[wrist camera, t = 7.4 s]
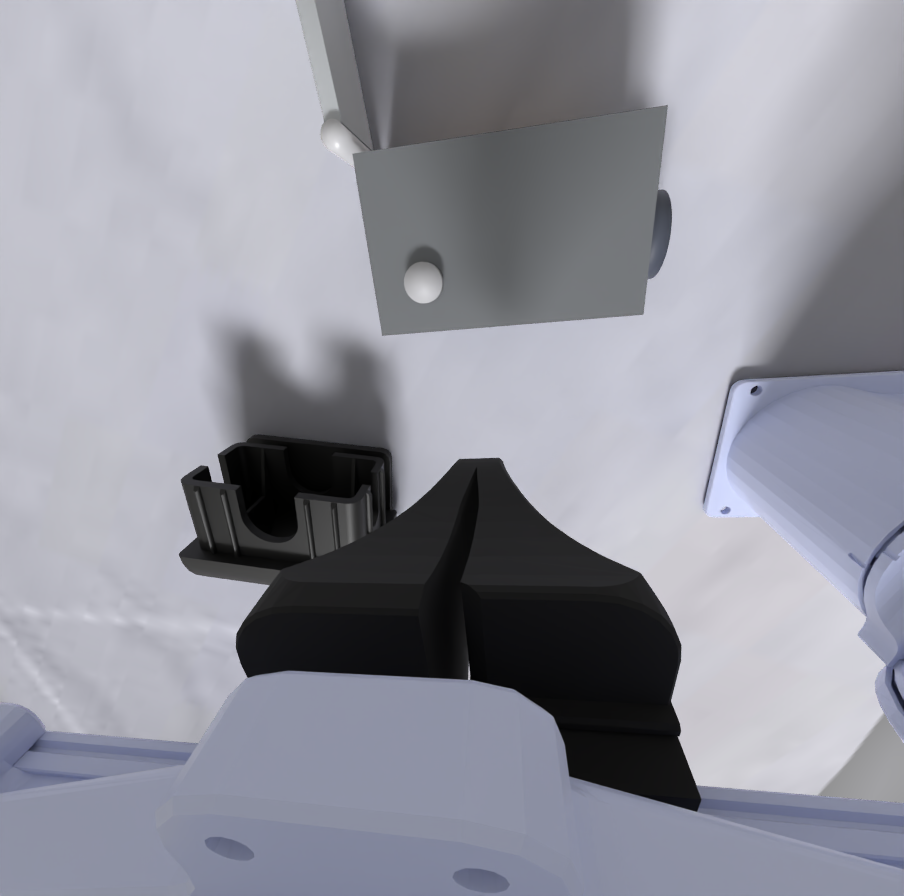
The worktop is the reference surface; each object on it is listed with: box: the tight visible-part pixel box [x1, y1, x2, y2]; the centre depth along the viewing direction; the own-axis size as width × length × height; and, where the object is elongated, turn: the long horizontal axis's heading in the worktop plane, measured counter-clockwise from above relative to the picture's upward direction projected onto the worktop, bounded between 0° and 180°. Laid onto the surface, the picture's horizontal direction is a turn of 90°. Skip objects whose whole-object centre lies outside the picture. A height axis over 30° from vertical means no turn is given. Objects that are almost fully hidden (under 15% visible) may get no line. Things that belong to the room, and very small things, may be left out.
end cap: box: [179, 435, 397, 585], centre depth 21 cm, size 10×7×7 cm
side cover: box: [296, 0, 374, 168], centre depth 13 cm, size 9×1×4 cm, turn 9°
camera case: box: [352, 105, 672, 336], centre depth 15 cm, size 11×6×5 cm, turn 95°
